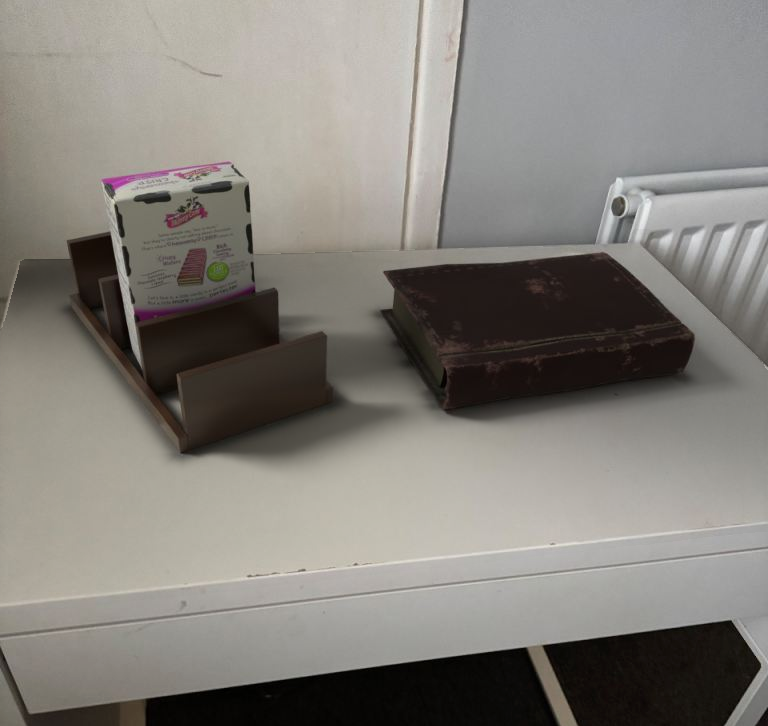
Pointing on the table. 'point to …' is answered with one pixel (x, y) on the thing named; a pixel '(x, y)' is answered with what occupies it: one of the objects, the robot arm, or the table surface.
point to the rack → (203, 354)
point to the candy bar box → (180, 239)
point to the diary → (531, 327)
